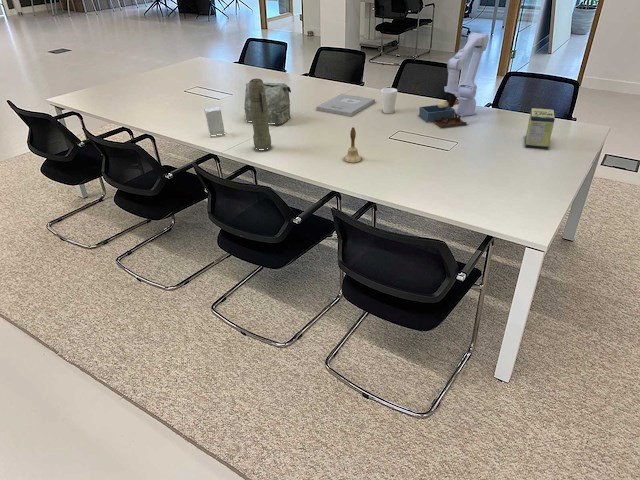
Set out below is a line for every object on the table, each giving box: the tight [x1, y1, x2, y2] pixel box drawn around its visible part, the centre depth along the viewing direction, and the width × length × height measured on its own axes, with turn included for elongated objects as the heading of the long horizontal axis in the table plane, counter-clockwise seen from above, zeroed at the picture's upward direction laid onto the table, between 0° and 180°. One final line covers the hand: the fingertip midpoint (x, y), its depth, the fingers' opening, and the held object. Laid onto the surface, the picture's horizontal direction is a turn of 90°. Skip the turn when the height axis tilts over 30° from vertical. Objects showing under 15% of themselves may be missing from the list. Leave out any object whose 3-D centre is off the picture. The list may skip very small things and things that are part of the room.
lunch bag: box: [243, 81, 292, 126], centre depth 284 cm, size 26×18×22 cm
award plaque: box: [315, 93, 376, 117], centre depth 306 cm, size 25×30×2 cm
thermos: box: [248, 78, 272, 152], centre depth 244 cm, size 9×12×35 cm
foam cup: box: [380, 87, 398, 114], centre depth 291 cm, size 10×9×13 cm
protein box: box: [525, 107, 556, 150], centre depth 243 cm, size 10×16×16 cm
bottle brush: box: [437, 100, 459, 108], centre depth 271 cm, size 12×3×3 cm, turn 104°
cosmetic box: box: [204, 106, 226, 139], centre depth 268 cm, size 8×6×15 cm
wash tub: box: [418, 104, 456, 123], centre depth 283 cm, size 17×12×5 cm
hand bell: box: [343, 126, 362, 164], centre depth 234 cm, size 8×8×16 cm
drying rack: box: [433, 113, 468, 129], centre depth 273 cm, size 15×9×5 cm, turn 104°
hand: (450, 106), depth 272 cm, fingers closed on bottle brush, 2 cm apart
